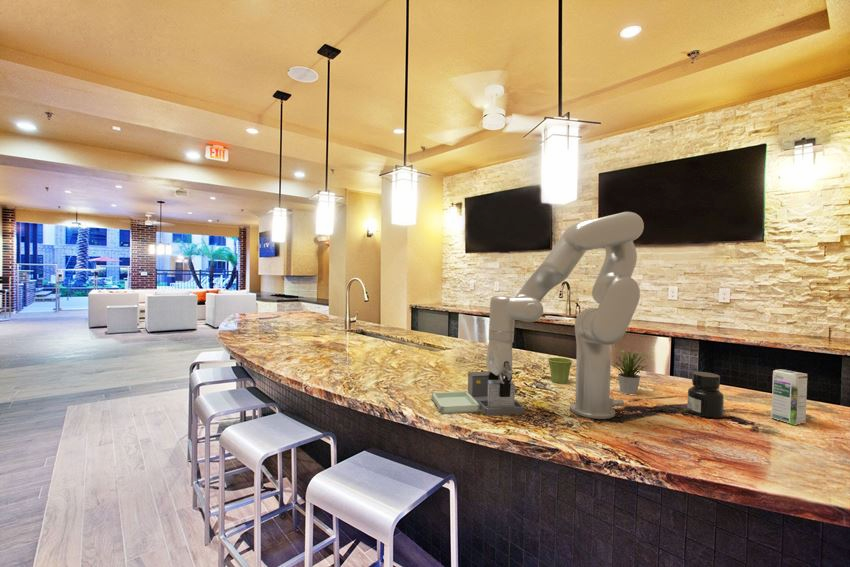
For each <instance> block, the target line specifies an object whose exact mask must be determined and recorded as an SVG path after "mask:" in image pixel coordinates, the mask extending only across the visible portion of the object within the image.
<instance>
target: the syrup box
mask: <svg viewBox="0 0 850 567" xmlns="http://www.w3.org/2000/svg"><path fill="white" fill-rule="evenodd" d="M771 385H772V390H771V391H772V393H771V394H772V395H771V412H770V419H771V418H774V419H777V420H776V421H778V420H781V421H784V422H787V423H786V424H788V423H790V424H789V425H791V424H794V425H793V426H796V425H795V424H799V423H803V424H805V423H806V420H807V419H806V417H807V396H808V394H807V393H808V392H807V391H808V373H803V372H797V371H792V370H789V369H788V370H787V369H781V368H780V369H775V370H773V371H772V384H771ZM774 419H773V420H774ZM781 421H780V422H781ZM784 422H783V423H784ZM804 422H805V423H804ZM799 425H800V424H799Z"/></svg>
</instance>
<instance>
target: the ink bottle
mask: <svg viewBox="0 0 850 567" xmlns="http://www.w3.org/2000/svg"><path fill="white" fill-rule="evenodd" d="M691 384H692V386H691V387H690V388H688V390H687V404H686V405H687V407H686V408H687V412H689V411H690V412H689V413H691V414H693V413H694V414H693V415H695V414H696V416H699V415H700V417H703V416H705V417H704V418H710V417H713V419H719V418H718V417H721V418H723V417H724V401H725V400H724V399H725V398H724V397H725V396H724V394H723V393H722V392H721V391H720V390H719V389H720V386H721V375H719V374H716V373H712V372H708V371H707V372H705V371H693V372H692V375H691Z"/></svg>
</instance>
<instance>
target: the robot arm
mask: <svg viewBox="0 0 850 567" xmlns="http://www.w3.org/2000/svg"><path fill="white" fill-rule="evenodd" d="M644 225H645V224H644V221H643V219H642V217H641V216H640V215H639V214H637V213H636V212H632V211H623V212H619V213H615V214H611V215H606V216H602V217H598V218H593V219H587V220H583V221H579V222H577V223H575V224H572V225H570V226H568V227H567V228H566V229H565V230H564V232H563V233H562V234H561V236H560V237H559V239H558V240H557V242H556V243H555V245H554V246H553V247H552V249H551V250H550V252H549V253H548V254H547V256H546V257H545V259H543V261H542V263H541V264H540V265H539V266H538V267H537V269H536V270H535V271H534V272H533V273H532V274H531V276H530V277H529V278H528V279H527V280H526V282H525V283H524V284H523V286H522V287H521V289H520V290H519V291H518V293H517V294H516V296H515V297H513V296H510V295H509V296H508V295H493V296H492V297H491V298H490V301H489V302H490V305H489V324H488V345H487V356H486V364H485V365H486V369H487V370H488V371H487V372H488V380H498V375H500V380H501V383H500V389H499V396H500V397H510V388H511V381H513V380H512V379H513V375H514V370H513V343H514V342H515V340H514V339H515V337H514V336H515V323H516V322H515V321H521V322H525V323H526V322H527V323H533V322H536V321H538V320H539V319H541V317H542V316H543V314H544V306H543V304H542V302H541V301H542V300H543V299H544V297H545V296H546V295H547V294H548V293H549V292H550V291H551V290H552V289H554V288H555V287H557V286H558V285H560V284H562V282H564V281H566V279H568V277H569V276H570V274H571V273H572V272H573V270H574V269H575V268H576V266H577V265H578V263H579V262H580V260H581V259H582V258H583V256H584V255H585V253H586V252H588V251H593V250H598V249H602V248H604V249H605V257H604V260H603V264H602V266H601V268H600V271H599V272H598V276H597V277H596V280H595V281H594V284H593V287H592V290H591V296H592V299H593V300H594V301H595V302H596V303H597V304H598V306H597V308H596V307H589V308H588V307H587V308H585V309H583V310H581V311H580V312H579V313H578V314H577V316H576V318H575V320H574V334H575V340H576V342H575V343H576V359H575V360H576V363H575V366H576V368H575V369H576V370H575V372H576V373H575V402H572V403H570V405H569V409H570V411H571V412H572V413H573V414H575V415H578V416H579V417H580V416H581V417H585V418H589V419H595V420H596V419H597V420H607V419H612V418H614V417H615V416H616V411H615V409H614V408H615V407H616V406H617V407H624V405H625V401H624V399H615V398H614V397H611V364H612V363H611V362H612V361H611V359H612V358H611V356H612V355H611V354H612V351H611V346H610V345H614V344H616V343H619V341H621V339H622V338H623V337H624V335H625V333H626V332H627V330H628V328H629V326H630V323H631V320H632V318H633V316H634V314H635V312H636V309H637V306H638V305H639V301H640V298H641V290H640V286H639V284H638V283H637V281H636V280H635V279H634V278H632V275H633V273H634V270H635V268H636V264H637V258H638V253H637V249H636V245H635V243H634V241H635V240H637V239H638V238H639V237H640V236H641V235H642V234H643V232H644V228H645V226H644ZM503 376H504V378H503Z"/></svg>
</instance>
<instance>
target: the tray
mask: <svg viewBox="0 0 850 567" xmlns="http://www.w3.org/2000/svg"><path fill="white" fill-rule="evenodd" d="M431 400H432V402H433V403H434V405H435V406H436V408H437V410H438V411H439V413H440V415H445V414H446V415H448V414H449V415H450V414H463V413H466V414H467V413H480V412H481V410H480V405H479V404H478V402H477V401H476V400H475V399H474V398H473V397H472V396H471V395H470V394H469V393H468V390H465V391H464V390H463V391H441V392H439V391H438V392H435V391H434V392H431Z"/></svg>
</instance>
